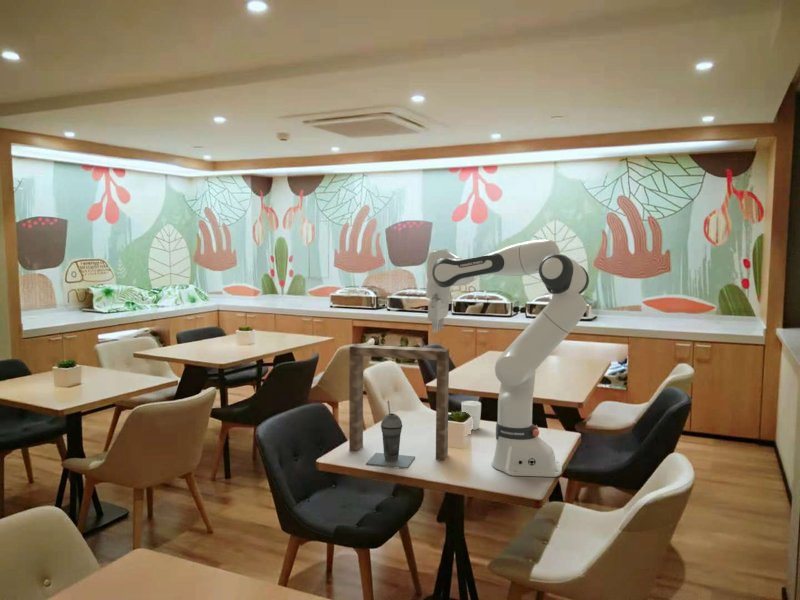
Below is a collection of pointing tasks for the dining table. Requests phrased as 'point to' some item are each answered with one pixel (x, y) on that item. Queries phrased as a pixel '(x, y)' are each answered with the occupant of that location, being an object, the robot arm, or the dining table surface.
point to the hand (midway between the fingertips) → (437, 331)
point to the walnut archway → (397, 352)
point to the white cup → (472, 411)
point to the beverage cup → (391, 436)
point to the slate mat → (380, 460)
